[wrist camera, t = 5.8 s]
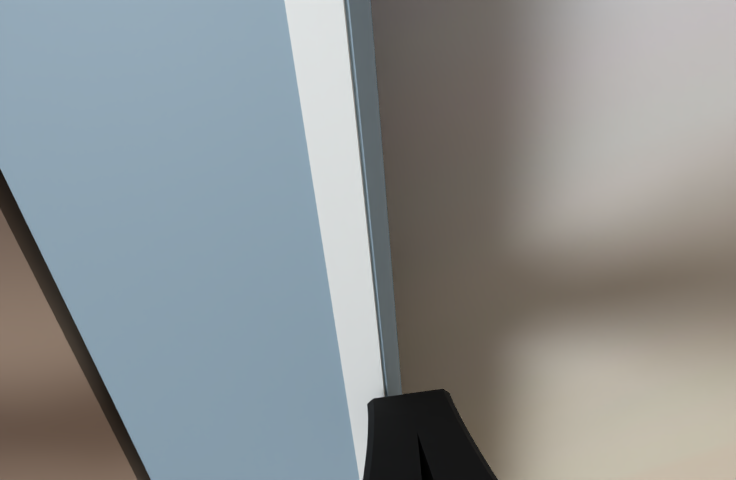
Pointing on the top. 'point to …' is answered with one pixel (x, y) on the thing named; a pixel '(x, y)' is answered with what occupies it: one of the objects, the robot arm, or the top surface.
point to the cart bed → (50, 376)
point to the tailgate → (212, 220)
